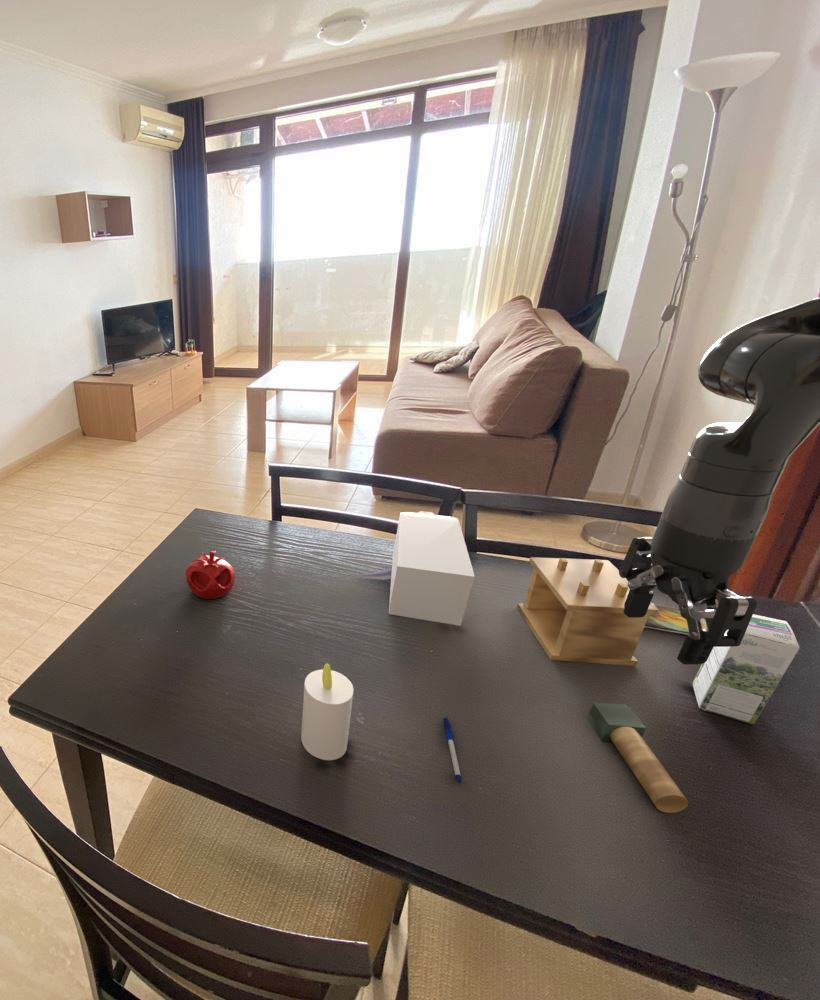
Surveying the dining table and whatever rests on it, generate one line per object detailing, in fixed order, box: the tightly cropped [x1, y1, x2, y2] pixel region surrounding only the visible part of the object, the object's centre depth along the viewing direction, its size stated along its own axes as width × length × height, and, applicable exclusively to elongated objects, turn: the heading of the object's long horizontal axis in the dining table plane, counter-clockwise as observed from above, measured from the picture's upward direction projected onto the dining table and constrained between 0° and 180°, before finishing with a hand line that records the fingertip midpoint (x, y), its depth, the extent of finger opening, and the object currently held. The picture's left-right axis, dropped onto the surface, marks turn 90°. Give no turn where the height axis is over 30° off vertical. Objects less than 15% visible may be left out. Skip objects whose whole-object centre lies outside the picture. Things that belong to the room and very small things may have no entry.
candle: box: [300, 663, 354, 761], centre depth 74 cm, size 6×6×15 cm
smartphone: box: [644, 604, 707, 636], centre depth 93 cm, size 7×1×15 cm
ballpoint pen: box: [443, 716, 462, 783], centre depth 74 cm, size 10×1×1 cm, turn 164°
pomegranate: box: [185, 550, 236, 600], centre depth 110 cm, size 10×10×9 cm
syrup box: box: [691, 613, 800, 725], centre depth 74 cm, size 6×6×14 cm
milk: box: [387, 510, 476, 627], centre depth 105 cm, size 12×12×26 cm
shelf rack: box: [516, 556, 659, 667], centre depth 90 cm, size 12×14×13 cm
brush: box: [586, 701, 689, 814], centre depth 70 cm, size 14×4×3 cm, turn 168°
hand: (659, 637), depth 65 cm, fingers open, 8 cm apart
